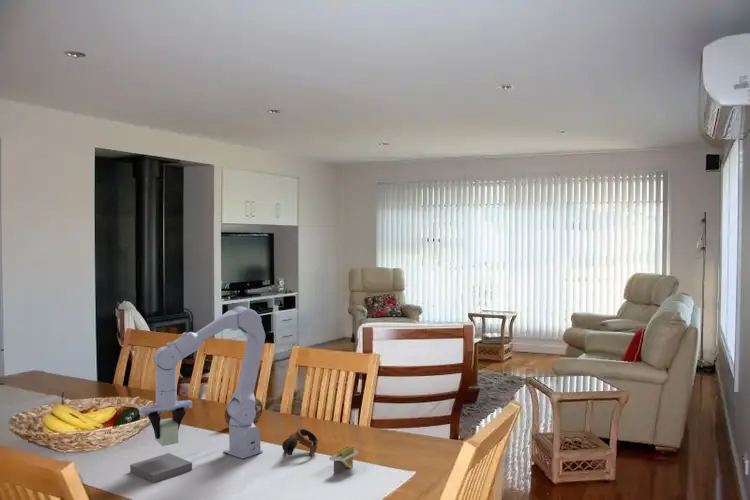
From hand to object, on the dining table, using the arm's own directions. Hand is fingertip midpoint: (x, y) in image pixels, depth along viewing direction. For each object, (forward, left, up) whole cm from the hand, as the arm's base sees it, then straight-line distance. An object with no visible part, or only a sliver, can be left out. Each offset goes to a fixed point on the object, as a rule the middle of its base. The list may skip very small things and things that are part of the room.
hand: (166, 436), depth 179 cm
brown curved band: (-22, -30, -9) cm, 39 cm away
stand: (-3, +3, -8) cm, 9 cm away
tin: (+14, -39, -9) cm, 42 cm away
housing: (0, 0, -1) cm, 1 cm away
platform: (-42, -31, -9) cm, 52 cm away
